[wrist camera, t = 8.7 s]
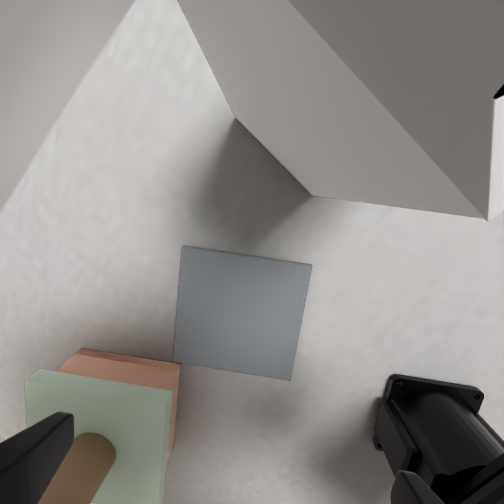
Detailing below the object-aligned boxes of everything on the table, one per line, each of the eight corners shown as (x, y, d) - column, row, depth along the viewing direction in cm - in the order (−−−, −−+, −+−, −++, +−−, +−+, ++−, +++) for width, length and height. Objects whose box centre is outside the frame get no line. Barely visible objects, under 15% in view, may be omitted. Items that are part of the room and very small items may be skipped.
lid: (172, 390, 18) (122, 493, 12) (164, 496, 20) (117, 629, 14) (39, 368, 18) (-75, 457, 12) (45, 474, 20) (-51, 595, 14)
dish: (180, 364, 21) (163, 397, 18) (173, 446, 23) (156, 490, 20) (81, 348, 22) (46, 377, 18) (82, 430, 24) (50, 471, 20)
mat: (311, 264, 19) (312, 266, 18) (289, 376, 21) (290, 380, 21) (183, 245, 19) (181, 247, 19) (174, 357, 21) (172, 361, 21)
